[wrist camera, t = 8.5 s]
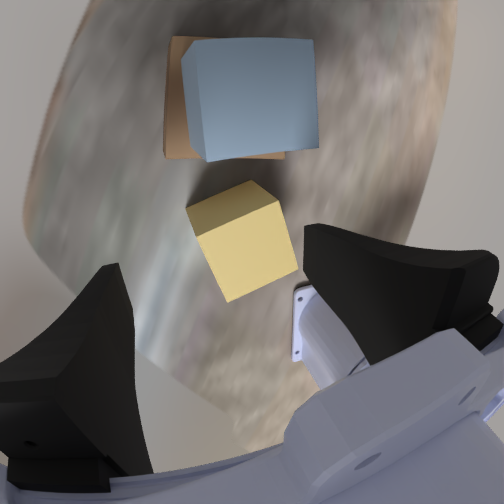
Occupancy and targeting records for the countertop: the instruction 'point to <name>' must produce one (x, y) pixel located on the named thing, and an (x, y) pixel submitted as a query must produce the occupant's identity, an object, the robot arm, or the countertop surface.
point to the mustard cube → (243, 238)
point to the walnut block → (183, 106)
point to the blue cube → (250, 96)
